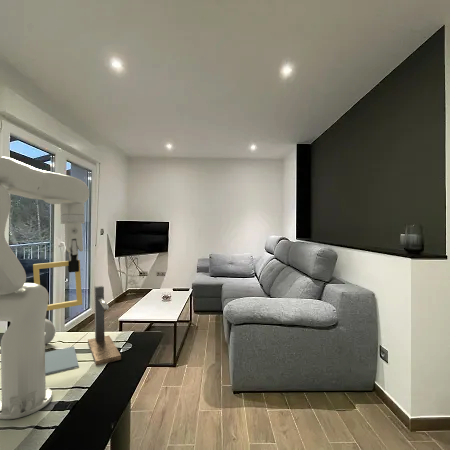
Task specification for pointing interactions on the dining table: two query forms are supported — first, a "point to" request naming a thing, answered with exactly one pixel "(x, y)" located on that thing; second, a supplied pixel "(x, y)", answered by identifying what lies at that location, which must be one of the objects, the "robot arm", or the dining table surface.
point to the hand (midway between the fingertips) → (73, 271)
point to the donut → (49, 331)
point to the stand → (102, 333)
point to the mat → (60, 360)
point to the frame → (77, 277)
